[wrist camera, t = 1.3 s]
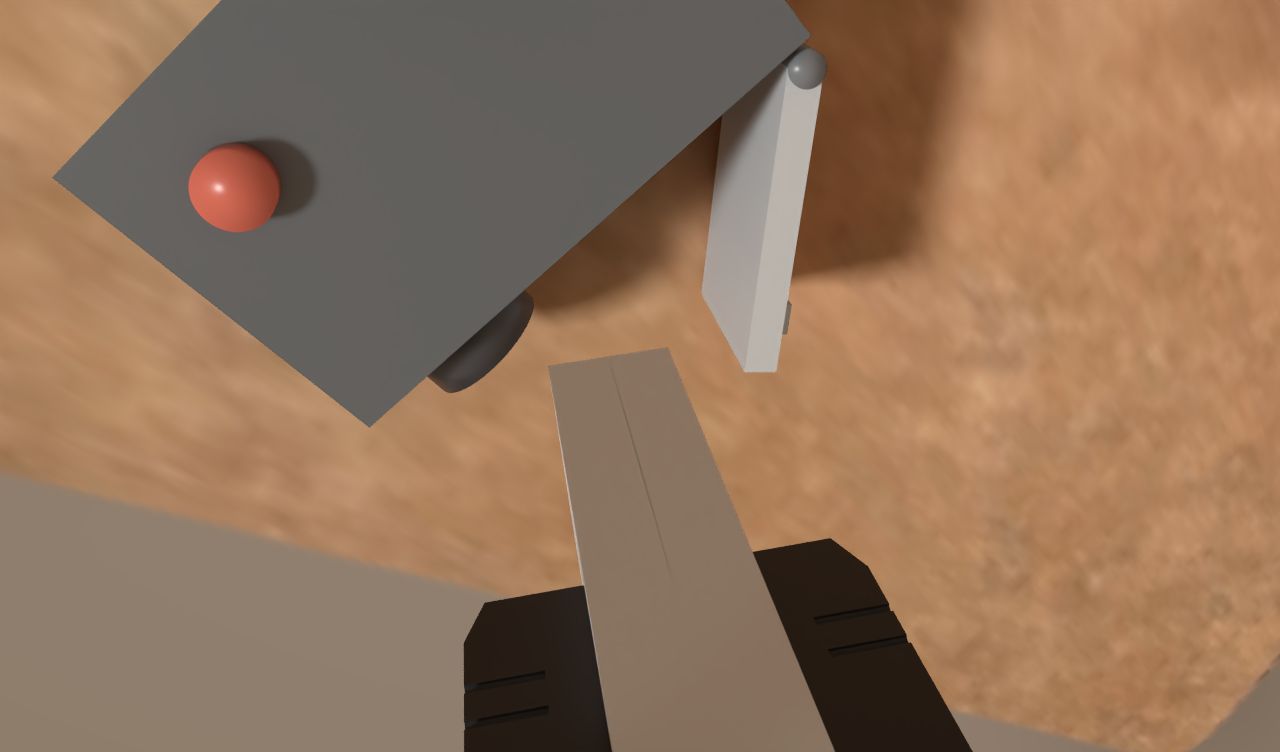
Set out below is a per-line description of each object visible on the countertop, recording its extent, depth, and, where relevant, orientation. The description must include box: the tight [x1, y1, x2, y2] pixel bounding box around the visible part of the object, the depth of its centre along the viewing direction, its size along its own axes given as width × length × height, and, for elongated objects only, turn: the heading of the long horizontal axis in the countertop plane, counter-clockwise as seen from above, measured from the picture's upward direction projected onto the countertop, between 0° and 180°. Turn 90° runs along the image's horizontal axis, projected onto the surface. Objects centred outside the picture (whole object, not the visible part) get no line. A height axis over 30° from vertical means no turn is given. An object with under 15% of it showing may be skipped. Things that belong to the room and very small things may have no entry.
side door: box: [702, 43, 827, 372], centre depth 31 cm, size 2×10×6 cm, turn 175°
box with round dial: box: [52, 0, 811, 427], centre depth 28 cm, size 12×16×8 cm
